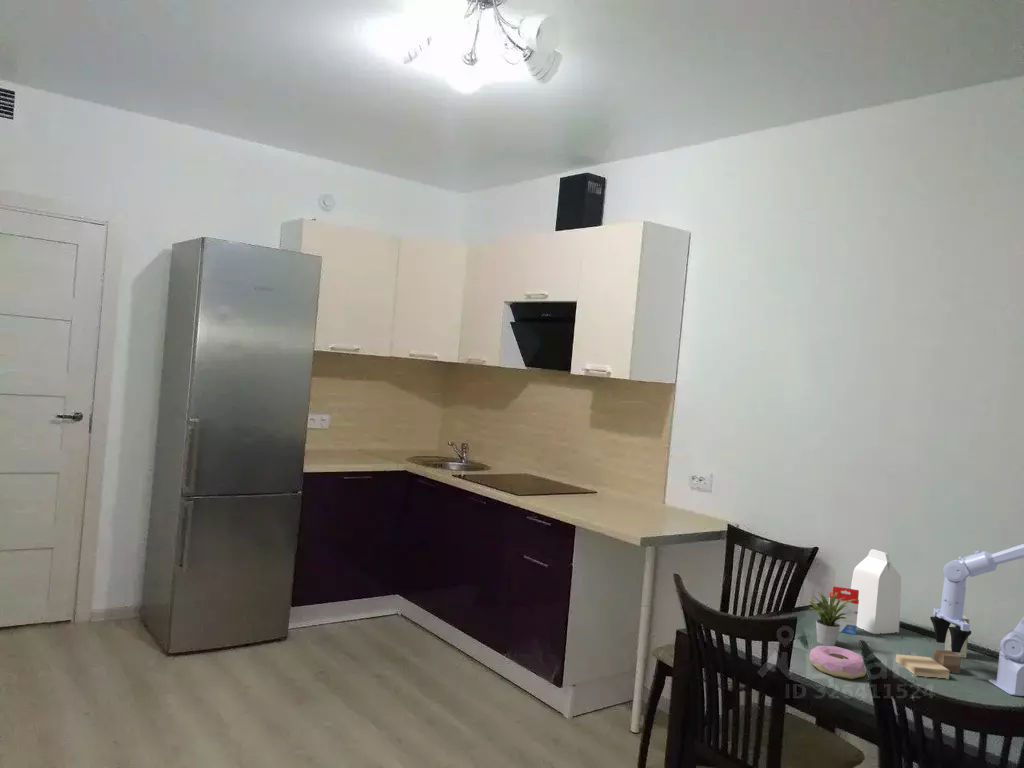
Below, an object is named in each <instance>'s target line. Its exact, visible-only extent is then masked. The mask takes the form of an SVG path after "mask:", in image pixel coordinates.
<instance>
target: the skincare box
mask: <svg viewBox="0 0 1024 768" xmlns="http://www.w3.org/2000/svg"><path fill="white" fill-rule="evenodd" d="M963 619H964V620H965V621H966V622H967V623H968V624H969V625H970V621H971V620H970V618H969V617H968V616H967V615H964V614H963ZM949 627H956V626H955V625H953V624H952V623H951V624H950V626H949ZM968 640H969V637H968V638H967V639H966V640H965V642H964V644H963V646H962V649H961V651H960V653H957V652H954V653H956V654H957V655H959V656H961V658H963V659H966V658H967V654H968V653H967V650H968ZM944 650H951V634H950V631H949V628H948V631H947V635H946V640H945V642H944ZM951 651H952V650H951Z"/></svg>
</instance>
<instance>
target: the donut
mask: <svg viewBox="0 0 1024 768" xmlns="http://www.w3.org/2000/svg"><path fill="white" fill-rule="evenodd" d="M808 656H809V662H810V663H811V664H812V666H813V667H815V668H816V669H817V670H818V671H819V672H820V673H824V674H827V675H829V676H833V677H836V678H837V677H838V678H843V679H847V680H848V679H849V680H854V679H858V678H859V679H860V678H863V677H865V675H866V674H867V672H866V671H865V668H864V663H863V659H862V657H863V656H862V655H861V654H858V653H857V652H855V651H853V650H850V649H847V648H844V647H843V648H842V647H839V646H835V645H834V646H826V645H817V646H815V647H813V648H812V649H810V652H809V655H808Z"/></svg>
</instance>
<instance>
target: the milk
mask: <svg viewBox="0 0 1024 768" xmlns="http://www.w3.org/2000/svg"><path fill="white" fill-rule="evenodd" d="M850 589H855V590H859V596H858V600H859V604H858V614H857V624H856V626H857V627H856V628H858V629H862V630H863V629H864V631H866V632H868V633H870V634H873V635H876V634H877V635H879V634H880V633H881V634H895V632H897V633H900V615H901V593H902V591H901V590H902V577H901V574H900V573H899V571H898V570H897V569H896V567H894V565H893V563H891V560H890V556H889V553H888V552H884V551H881V550H878V549H875V548H873V549H872V548H871V549H870V550H869V552H868V554H867V556H866V557H865V558H863V560H861V561H860V562H859V563H858V564H857V565H856V566H855V567H854V569H853V572H852V578H851V584H850Z"/></svg>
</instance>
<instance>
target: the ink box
mask: <svg viewBox="0 0 1024 768" xmlns="http://www.w3.org/2000/svg"><path fill="white" fill-rule="evenodd" d="M845 591H846V592H848V593H846V592H845ZM836 592H837V597H836V599H835V602H834V605H836V603H837V602H838V600H839V599H841V598H842V599H841V601H840V603H839V605H838V607H837V609H838V608H839V606H840V605H842V604H843V603H844V602H846V601H848V600H853V601H850V602H848V603H846V604H845V605H846V606H845V605H844V606H845V607H844V606H843V607H844V608H842V609H841V610H840V611H839V612H838V613H837V615H839V614H841V613H845V614H847V615H842V616H840V617H845V618H847V619H838V620H836V621H835V622H836V623H838V624H839V625H840V629H839V632H838V633H844V634H850V635H856V634H857V627H856V624H857V614H858V604H859V600H858V596H859V590H855V589H851V588H847V587H843V586H842V587H841V586H840V587H839V586H835V585H834V586H832V591H829V595H828V596H829V597H828V605H829V606H830V593H831V595H832V597H833V595H834V594H835V593H836ZM847 604H848V605H847ZM833 613H834V612H833ZM837 615H836V616H837ZM832 616H833V615H832Z"/></svg>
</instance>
